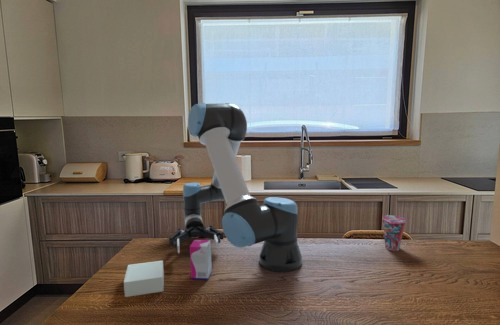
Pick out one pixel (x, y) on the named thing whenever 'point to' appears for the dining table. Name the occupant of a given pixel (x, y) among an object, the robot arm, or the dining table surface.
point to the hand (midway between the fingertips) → (198, 247)
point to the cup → (393, 231)
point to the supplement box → (200, 259)
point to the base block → (144, 278)
